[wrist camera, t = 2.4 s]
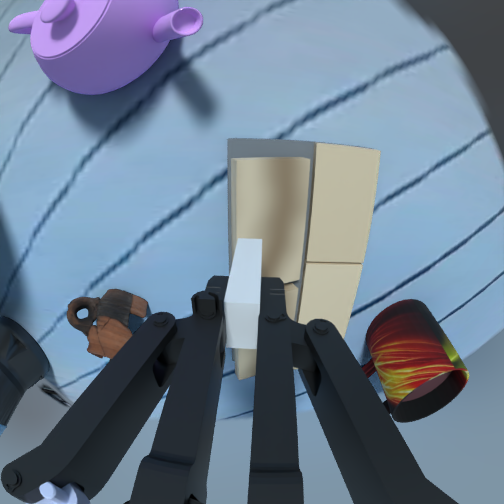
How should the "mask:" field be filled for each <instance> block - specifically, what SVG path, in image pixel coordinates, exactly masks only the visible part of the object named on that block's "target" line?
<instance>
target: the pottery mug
mask: <svg viewBox="0 0 504 504" xmlns="http://www.w3.org/2000/svg"><path fill="white" fill-rule="evenodd" d="M147 305H148V302H147V301H145V300H144V299H142V298H140V297H139V296H136V295H133V294H131V293H128V292H126V291H122V290H119V289H109V290H108V291H107V292H106V294H105V295H104V296H103V297H102V298H101V299H100V298H99V297H97V298H89V297H79V298H76V299H74V300H72V301H71V302H70V304H68V311H67V319H68V321H69V323H70V324H71V325H72V326H73V327H74V328H76V329H78V330H80V331H82V332H83V333H84V334H85V336H87V339H88V341H89V346H88V348H87V351H88V352H89V353H91V354H93V355H95V356H97V357H99V358H103V356H104V357H108V358H110V360H111V359H112V358H113V357H114V356H115V355H116V354H117V352H118V351H119V350H120V349H121V348H122V347H123V346H124V344H125V343H126V342H127V341H128V340H129V339H130V338H131V337H132V332H131V331H130V330H129V329H128V321H129V314H130V313H131V314H135V315H137V316H140V317H141V318H144V317H145V316H146V310H147ZM84 308H86V309H88V317H86V318H84V319H79V318H78V317H77V312H78V311H79V310H81V309H84ZM96 319H97V326H96V325H93V322H94V321H95V320H96ZM110 360H109V361H110Z"/></svg>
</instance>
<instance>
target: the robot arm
mask: <svg viewBox="0 0 504 504" xmlns="http://www.w3.org/2000/svg"><path fill="white" fill-rule="evenodd" d="M261 261H262V239H246V238H238V240H237V245H236V249H235V253H234V258H233V262H232V267H231V271H230V276H213V277H212V278H211V279H209V280H208V283H207V286H206V289H205V291H201V292H197V293H196V294H194V295H193V296H192V298H191V301H192V309H193V315H192V316H190V317H188V318H183V319H176V320H175V317H174V316H173V315H172V314H170V313H168V312H158V313H155V314H152V315H151V316H150V317H149V318H148V319H147V320H146V321H145V322H144V323H143V324H142V325H141V326H140V328H139V329H138V330H137V331H136V332H135V333H134V334H133V335H132V337H131V338H130V339H129V340H128V341H127V342H126V343H125V344H124V346H123V347H122V348H121V349H120V350H119V351H118V352H117V354H116V355H115V356H114V357H113V358H112V359H111V360H110V362H109V363H108V364H107V365H106V366H105V367H104V369H103V370H102V371H101V372H100V373H99V374H98V376H97V377H96V378H95V379H94V380H93V381H92V383H91V384H90V385H89V386H88V387H87V389H86V390H85V391H84V392H83V393H82V394H81V396H80V397H79V398H78V399H77V400H76V402H75V403H74V404H73V405H72V407H71V408H70V409H69V410H68V412H67V413H66V414H65V415H64V416H63V418H62V419H61V420H60V421H59V423H58V424H57V425H56V426H55V428H54V429H53V430H52V431H51V433H50V434H49V435H48V436H47V438H46V439H45V440H44V441H43V443H42V444H41V445H40V446H38V447H36V448H35V449H33V450H31V451H30V452H28V453H26V454H25V455H23V456H21V457H19V458H18V459H16V460H14V461H12V462H11V463H9V464H7V465H6V466H5V467H4V468H3V471H2V473H1V481H2V484H3V487H4V488H5V490H6V491H7V492H8V493H10V494H11V495H12V496H14V497H16V498H17V499H19V500H21V501H23V502H25V503H26V504H90V501H89V500H91V499H92V498H93V497H94V496H96V495H97V494H98V492H99V491H100V490H101V489H102V488H103V487H104V485H105V484H106V483H107V481H108V480H109V479H110V477H111V475H112V474H113V472H114V471H115V469H116V468H117V466H118V464H119V463H120V462H121V460H122V458H123V457H124V455H125V454H126V452H127V451H128V449H129V448H130V446H131V444H132V443H133V441H134V440H135V438H136V437H137V435H138V434H139V432H140V431H141V429H142V427H143V426H144V424H145V422H146V421H147V420H148V418H149V417H150V415H151V414H152V412H153V410H154V409H155V407H156V406H157V404H158V403H159V401H160V400H161V398H162V396H163V395H164V393H165V392H166V390H167V389H168V387H169V386H170V387H169V390H168V393H167V397H166V400H165V403H164V407H163V410H162V414H161V417H160V420H159V424H158V428H157V431H156V434H155V438H154V442H153V445H152V449H151V452H150V454H149V455H147V456H145V457H144V458H143V459H142V461H141V463H140V465H139V469H138V472H137V476H136V480H135V483H134V487H133V491H132V495H131V499H130V500H129V501H127V502H125V503H124V504H206V498H207V488H206V484H207V483H206V482H207V476H208V469H209V462H210V455H211V448H212V441H213V434H214V427H215V421H216V414H217V407H218V401H219V394H220V388H221V381H222V375H223V368H224V362H225V345H226V348H243V349H257V355H256V374H255V392H254V410H253V428H252V444H251V460H250V474H249V488H248V504H304V496H303V478H302V472H301V471H300V469H299V458H298V436H297V418H296V401H295V386H294V372H293V367H295V368H298V371H299V374H300V376H301V379H302V381H303V383H304V386H305V388H306V391H307V393H308V395H309V398H310V400H311V403H312V405H313V407H314V410H315V412H316V414H317V417H318V419H319V421H320V424H321V426H322V429H323V431H324V434H325V436H326V438H327V441H328V443H329V446H330V448H331V450H332V452H333V455H334V458H335V460H336V462H337V464H338V467H339V469H340V471H341V474H342V476H343V479H344V481H345V483H346V486H347V488H348V491H349V493H350V495H351V498H352V500H353V503H354V504H458V503H457V502H456V501H454V500H453V499H452V498H451V497H449V496H448V495H447V494H445V493H444V492H443V491H442V490H440V489H439V488H438V487H436V486H435V485H434V484H433V483H431V482H430V481H429V480H427V479H426V478H425V476H424V474H423V473H422V471H421V469H420V467H419V466H418V464H417V462H416V460H415V458H414V456H413V455H412V453H411V451H410V449H409V447H408V446H407V444H406V442H405V440H404V439H403V437H402V435H401V434H400V432H399V430H398V428H397V427H396V425H395V423H394V421H393V420H392V418H391V416H390V415H389V413H388V411H387V409H386V408H385V406H384V404H383V403H382V401H381V399H380V398H379V396H378V394H377V393H376V391H375V389H374V388H373V386H372V384H371V383H370V381H369V379H368V378H367V376H366V375H365V373H364V371H363V370H362V368H361V366H360V365H359V363H358V362H357V360H356V358H355V357H354V355H353V354H352V352H351V350H350V349H349V347H348V346H347V344H346V342H345V341H344V339H343V338H342V336H341V334H340V333H339V331H338V330H337V328H336V327H335V325H334V324H333V323H332V322H330V321H328V320H325V319H313V320H310V321H309V322H308V323H307V325H305V324H301V323H298V322H295V321H293V320H292V319H291V318H289V316H288V314H287V311H286V299H285V290H284V282H283V281H282V280H281V279H280V277H261ZM48 370H49V363H48V360H47V358H46V356H45V354H44V353H43V351H42V350H41V348H40V347H39V345H38V344H37V343H36V342H35V340H34V339H33V338H32V337H31V336H30V335H29V334H28V333H27V332H26V331H25V330H24V329H23V328H22V327H21V326H20V325H18V324H17V323H16V322H14V321H13V320H11V319H9V318H6V317H1V318H0V436H1V434H2V433H3V431H4V430H5V428H7V424H8V422H9V420H10V418H11V416H12V414H13V413H14V411H15V409H16V407H17V405H18V404H19V402H20V400H21V398H22V396H23V395H24V393H25V392H26V390H27V389H29V388H30V387H31V386H33V385H34V384H36V383H37V382H38V381H39V380H41V379H43V378H44V377H45V375H46V373H47V372H48Z"/></svg>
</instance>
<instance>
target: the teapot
mask: <svg viewBox="0 0 504 504" xmlns="http://www.w3.org/2000/svg"><path fill="white" fill-rule="evenodd" d="M202 25H203V17H202V14H201V13H200V12H199V11H198V10H197V9H195V8H192V7H183V8H180V9H179V6H178V0H45V1H44V2H43V4H42V5H41V7H40V9H39V11H33V12H28V13H24V14H21V15H18V16H16V17H15V18H14V19H13V20H12V21H11V22H10V24H9V31H10V32H13V33H19V34H31V47H32V50H33V53H34V56H35V58H36V60H37V62H38V64H39V65H40V67H41V69H42V70H43V72H44V73H45V74H46V75H47V76H48V78H49V79H51V80H52V81H53V82H54V83H56V84H57V85H59V86H60V87H62V88H64V89H67V90H69V91H72V92H75V93H79V94H87V95H97V94H104V93H108V92H111V91H114V90H117V89H119V88H121V87H123V86H125V85H127V84H128V83H130V82H132V81H133V80H135V79H136V78H138V77H139V76H140V75H142V74H143V73H144V72H145V71H146V70H147V69H149V68H150V67H151V66H152V64H153V63H154V62H155V61H156V60H157V59H158V58H159V56H160V55H161V54H162V53H163V51H164V50H165V48H166V46H167V45H168V43H169V41H170V40H172V39H176V38H181V37H185V36H190V35H193V34H195V33H196V32H198V31H199V30H200V28H201V27H202Z"/></svg>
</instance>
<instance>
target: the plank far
mask: <svg viewBox="0 0 504 504" xmlns="http://www.w3.org/2000/svg"><path fill="white" fill-rule="evenodd" d="M284 290H285V299H286V311H287V314H288V316H289V318H291V319H292V320H293V321H294V318H295V311H296V303H297V295H298V288H297V287H296V286H295V285H294V284H293V283H289V284H285V285H284ZM234 352H235V374H236V375H237V377H238V379H239V380H242V379H246V378H249V377H252V376H255V374H256V355H257V349H243V348H234Z"/></svg>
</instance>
